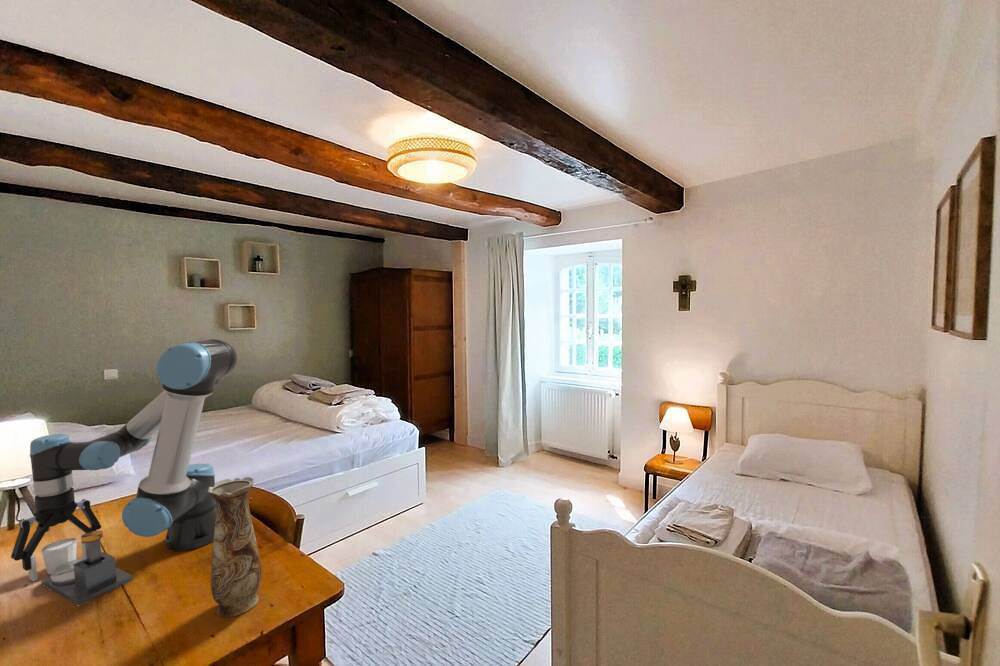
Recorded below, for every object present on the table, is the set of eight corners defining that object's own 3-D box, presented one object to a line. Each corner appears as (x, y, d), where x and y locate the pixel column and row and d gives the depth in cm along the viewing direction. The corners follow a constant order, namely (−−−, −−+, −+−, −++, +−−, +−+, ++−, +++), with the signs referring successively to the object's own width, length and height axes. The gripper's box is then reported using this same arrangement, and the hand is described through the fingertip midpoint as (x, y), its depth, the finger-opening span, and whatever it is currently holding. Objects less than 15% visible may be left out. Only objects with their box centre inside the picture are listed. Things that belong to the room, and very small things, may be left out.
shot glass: (38, 579, 115) (36, 554, 115) (50, 565, 121) (48, 541, 121) (73, 571, 118) (70, 547, 118) (83, 558, 124) (81, 535, 124)
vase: (208, 625, 97) (199, 498, 95) (218, 596, 107) (210, 480, 105) (260, 611, 102) (253, 489, 99) (264, 584, 111) (258, 473, 109)
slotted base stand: (132, 579, 114) (130, 553, 114) (78, 606, 104) (75, 578, 104) (94, 561, 123) (92, 537, 122) (41, 584, 113) (39, 558, 112)
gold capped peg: (108, 562, 112) (105, 532, 111) (88, 571, 108) (85, 540, 108) (100, 558, 114) (98, 529, 113) (80, 567, 110) (78, 536, 109)
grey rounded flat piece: (110, 566, 118) (109, 560, 118) (61, 589, 109) (60, 582, 109) (92, 558, 122) (91, 552, 122) (43, 578, 113) (43, 572, 113)
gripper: (100, 473, 130) (105, 543, 132) (-14, 506, 109) (-5, 589, 111) (112, 477, 127) (118, 549, 128) (-2, 512, 106) (6, 597, 108)
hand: (61, 567), depth 120 cm, fingers open, 10 cm apart
